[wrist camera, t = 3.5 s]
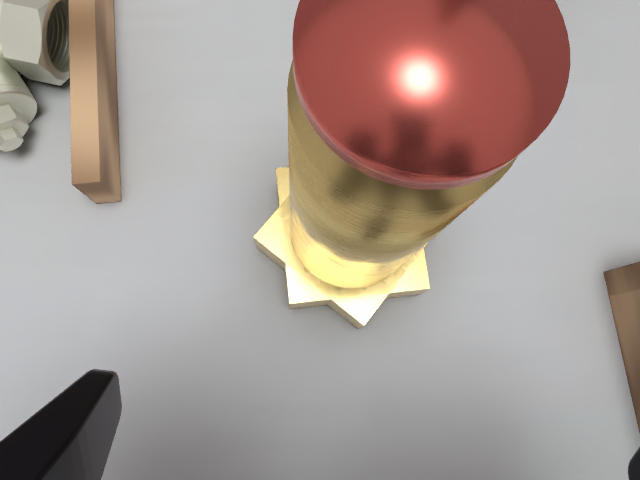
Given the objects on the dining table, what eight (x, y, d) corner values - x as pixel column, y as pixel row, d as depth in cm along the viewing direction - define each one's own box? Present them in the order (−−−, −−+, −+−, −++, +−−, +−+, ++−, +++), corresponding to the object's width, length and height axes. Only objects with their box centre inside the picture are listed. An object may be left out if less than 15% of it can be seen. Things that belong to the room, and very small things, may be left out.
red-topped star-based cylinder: (448, 318, 22) (715, 246, 8) (265, 339, 21) (214, 300, 8) (420, 147, 23) (604, -160, 10) (249, 162, 23) (182, -139, 9)
